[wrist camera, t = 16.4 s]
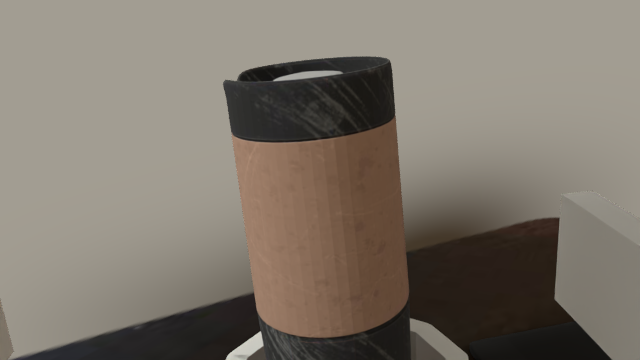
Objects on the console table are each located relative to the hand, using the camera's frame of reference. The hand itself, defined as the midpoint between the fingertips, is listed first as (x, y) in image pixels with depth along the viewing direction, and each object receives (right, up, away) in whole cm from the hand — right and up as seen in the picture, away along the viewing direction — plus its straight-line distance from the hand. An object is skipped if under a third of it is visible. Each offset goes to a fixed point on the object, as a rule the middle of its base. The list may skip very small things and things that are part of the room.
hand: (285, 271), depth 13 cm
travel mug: (+2, -12, +18) cm, 22 cm away
